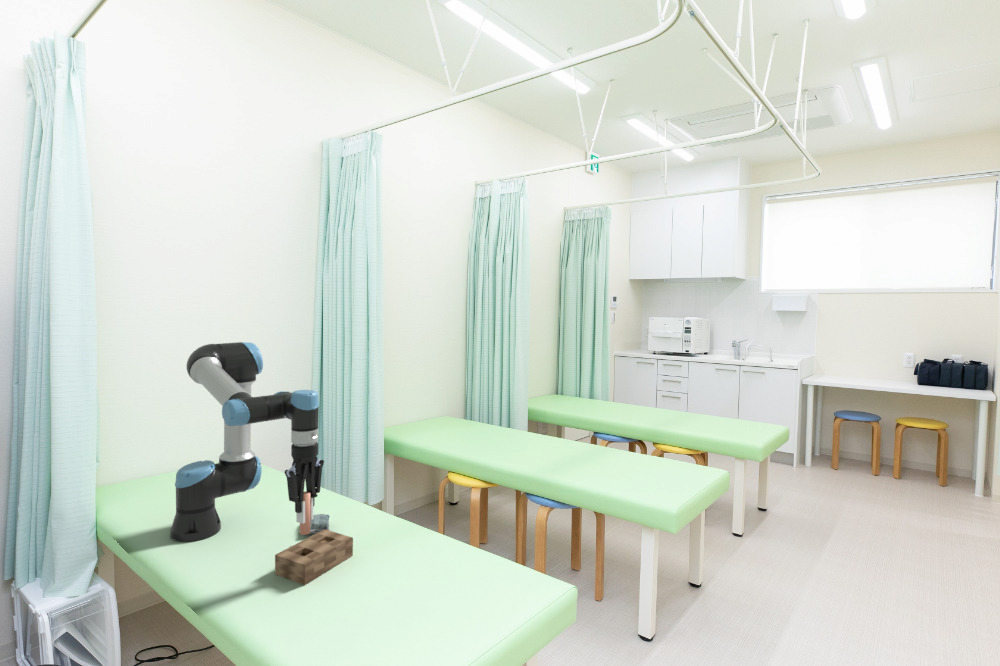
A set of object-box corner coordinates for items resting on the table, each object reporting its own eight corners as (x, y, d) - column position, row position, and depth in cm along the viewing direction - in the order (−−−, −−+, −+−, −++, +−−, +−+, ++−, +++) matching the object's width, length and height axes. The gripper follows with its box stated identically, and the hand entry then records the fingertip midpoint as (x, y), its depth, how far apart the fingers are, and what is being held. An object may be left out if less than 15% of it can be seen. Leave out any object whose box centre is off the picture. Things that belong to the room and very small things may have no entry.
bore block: (275, 574, 161) (275, 554, 160) (324, 546, 179) (324, 529, 178) (304, 585, 156) (304, 565, 155) (352, 555, 174) (352, 537, 173)
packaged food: (302, 539, 184) (302, 525, 183) (303, 524, 195) (304, 511, 195) (329, 537, 186) (329, 523, 186) (329, 522, 198) (329, 509, 197)
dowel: (297, 533, 161) (297, 494, 160) (305, 529, 164) (305, 490, 163) (304, 535, 160) (305, 495, 159) (312, 531, 163) (312, 492, 162)
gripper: (293, 451, 151) (293, 533, 153) (333, 438, 165) (333, 513, 167) (274, 447, 155) (274, 527, 156) (315, 435, 169) (315, 508, 170)
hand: (304, 520), depth 162 cm, fingers closed on dowel, 2 cm apart
